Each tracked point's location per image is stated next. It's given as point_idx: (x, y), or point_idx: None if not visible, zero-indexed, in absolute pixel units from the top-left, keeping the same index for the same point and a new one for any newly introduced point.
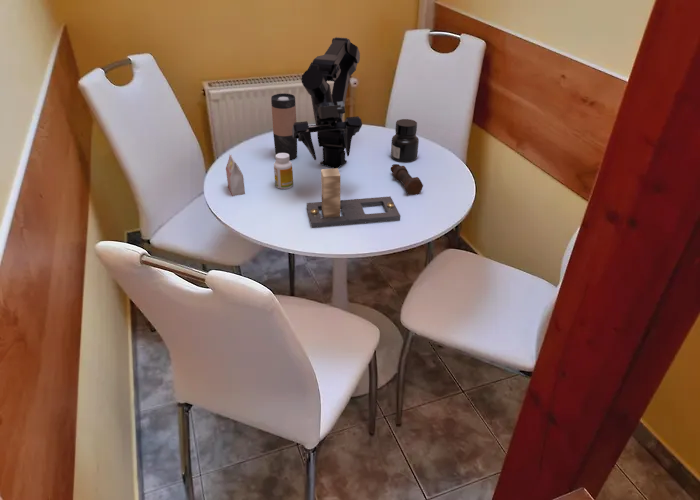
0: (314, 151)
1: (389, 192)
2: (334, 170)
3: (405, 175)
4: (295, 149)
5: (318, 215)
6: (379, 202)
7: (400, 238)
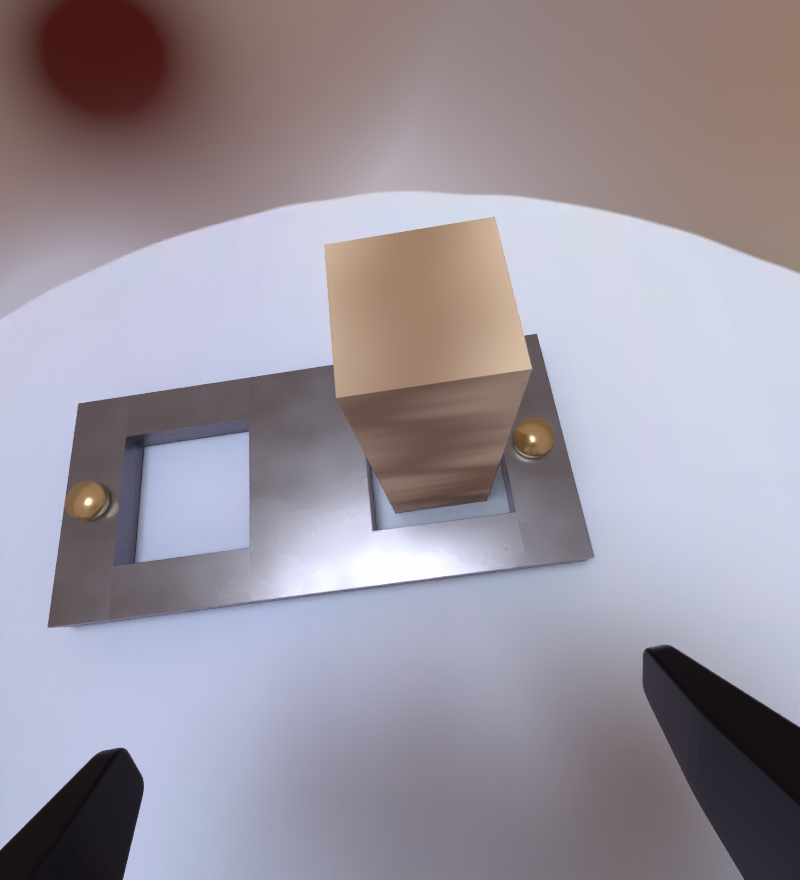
0: (741, 737)
1: (33, 756)
2: (376, 345)
3: None
4: None
5: None
6: (138, 564)
7: (148, 282)
